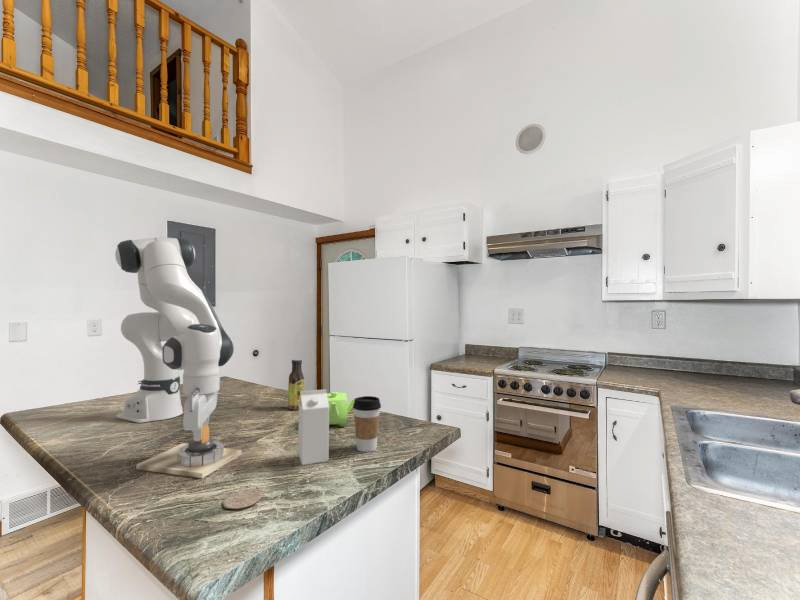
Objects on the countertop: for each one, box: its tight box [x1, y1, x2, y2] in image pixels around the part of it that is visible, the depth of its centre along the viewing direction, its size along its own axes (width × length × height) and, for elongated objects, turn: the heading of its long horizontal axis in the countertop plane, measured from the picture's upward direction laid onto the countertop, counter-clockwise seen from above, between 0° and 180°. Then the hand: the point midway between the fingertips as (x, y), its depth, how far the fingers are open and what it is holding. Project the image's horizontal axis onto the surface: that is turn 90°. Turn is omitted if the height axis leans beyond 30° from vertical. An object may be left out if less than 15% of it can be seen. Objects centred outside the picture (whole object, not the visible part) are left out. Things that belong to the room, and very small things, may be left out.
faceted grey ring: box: [177, 440, 225, 467], centre depth 101 cm, size 11×11×3 cm
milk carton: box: [297, 389, 330, 466], centre depth 104 cm, size 7×7×19 cm
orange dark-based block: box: [187, 425, 215, 453], centre depth 101 cm, size 6×6×6 cm
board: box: [136, 442, 242, 479], centre depth 102 cm, size 20×15×1 cm
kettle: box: [327, 391, 355, 428], centre depth 134 cm, size 15×14×11 cm
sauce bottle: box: [287, 358, 305, 411], centre depth 153 cm, size 6×6×20 cm
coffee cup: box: [352, 395, 382, 453], centre depth 112 cm, size 8×8×15 cm
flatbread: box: [222, 488, 263, 510], centre depth 82 cm, size 8×8×1 cm
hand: (200, 436), depth 101 cm, fingers closed on orange dark-based block, 4 cm apart
